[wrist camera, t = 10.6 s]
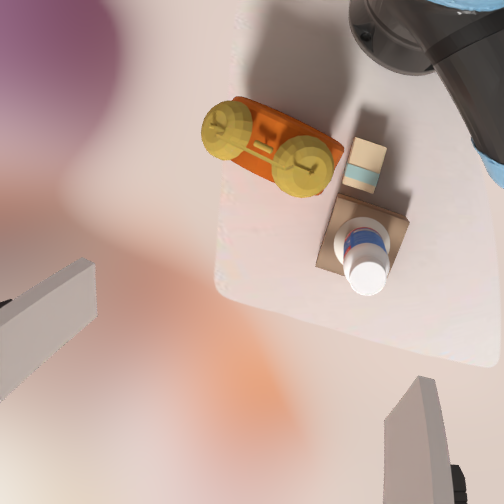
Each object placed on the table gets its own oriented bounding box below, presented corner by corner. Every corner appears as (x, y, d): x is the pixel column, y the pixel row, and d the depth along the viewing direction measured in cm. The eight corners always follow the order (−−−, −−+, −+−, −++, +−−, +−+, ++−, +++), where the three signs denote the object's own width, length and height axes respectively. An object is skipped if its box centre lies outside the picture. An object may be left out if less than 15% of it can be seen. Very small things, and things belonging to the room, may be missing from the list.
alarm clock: (345, 144, 39) (349, 153, 21) (324, 183, 42) (310, 225, 24) (256, 100, 40) (191, 81, 22) (238, 139, 43) (164, 150, 25)
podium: (338, 193, 42) (337, 197, 39) (405, 216, 40) (409, 222, 38) (317, 258, 46) (315, 266, 43) (380, 279, 44) (382, 288, 42)
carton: (354, 136, 39) (355, 137, 35) (383, 146, 38) (387, 148, 34) (341, 178, 41) (342, 183, 37) (370, 188, 40) (373, 194, 37)
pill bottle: (341, 227, 40) (340, 255, 32) (382, 223, 39) (392, 251, 30) (345, 266, 42) (344, 302, 33) (384, 263, 40) (393, 299, 32)
